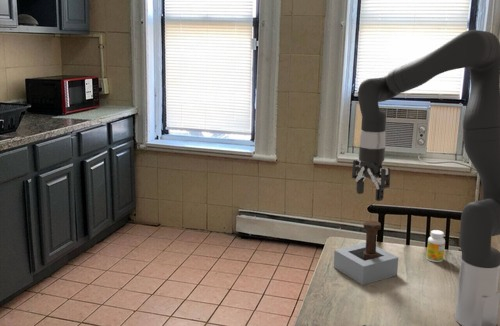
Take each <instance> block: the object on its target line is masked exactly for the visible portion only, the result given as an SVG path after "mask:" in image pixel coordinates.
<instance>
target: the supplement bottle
mask: <svg viewBox="0 0 500 326" xmlns="http://www.w3.org/2000/svg"><path fill="white" fill-rule="evenodd" d="M444 235H445V234H444V231H442V230H438V229H433V230H431V231H430V236H429V237H428V238H427V247H426V259H427V260H428V261H430V262H433V263H442V262H443V261H444V256H445V248H446V247H445V246H446V240H445V238H444Z"/></svg>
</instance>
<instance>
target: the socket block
mask: <svg viewBox="0 0 500 326" xmlns="http://www.w3.org/2000/svg"><path fill="white" fill-rule="evenodd" d="M365 250H366V242H363V243H359V244H355V245H350V246H345V247H341V248H338V249H335V250H333V251H334V255H333V269H336V270H337V271H339V272H340V273H342V274H344V275H346V276H347V277H348V278H350V279H352V280H354V281H355V282H357V283H359V285H363V286H365V285H368V284H371V283H374V282H377V281H381V280H385V279H388V278H392V277H395V276H397V275H398V268H399V257H398V256H396V255H394V254H392V253H391V252H388V251H387V250H384V249H382V248H381V247H379V246H377V245H376V252H378V258H374V259H370V260H366V261H365V259H364V258H363V251H365Z"/></svg>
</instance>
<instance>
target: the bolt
mask: <svg viewBox="0 0 500 326" xmlns="http://www.w3.org/2000/svg"><path fill="white" fill-rule="evenodd" d="M362 225H363V229H365V233H366V236H365V243H366V250H365V251H363V258H364V259H365V261H366V260H370V259H374V258H378V252H376V246H377V238H378V237H377V236H378V231H380V230H382V229H381V227H382V224H381V222H379V221H377V220H365V221H363V223H362Z"/></svg>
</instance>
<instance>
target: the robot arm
mask: <svg viewBox="0 0 500 326" xmlns="http://www.w3.org/2000/svg"><path fill="white" fill-rule="evenodd" d="M463 68H464V69H465V68H466V69H469V77H470V94H469V98H468V102H467V104H466V108H465V110H464V115H463V120H462V121H463V122H462V133H463V134H462V135H463V145H464V147H463V148H464V151H465V153H466V155H467V157H468V159H469V160H470V163H471V164H472V166H473V167H474V169H475V170H476V172H477V174H478V176H479V180H480V183H481V188H482V199H481V200H477V201H476V200H475V201H472V202H468V203H467V204H466V205H465V206H464V207H463V209H462V212H461V217H460V229H459V230H460V231H459V247H460V251H461V259H460V267H459V277H458V285H457V287H458V288H457V295H456V304H455V313H454V319H455V321H456V322H457V323H458V324H459V325H461V326H497V322H498V313H499V308H500V292H499V291H498V287H499V286H498V285H499V278H500V277H499V276H500V251H499V250H498V249H497V248H495V247H493V246H492V237H496V236H499V235H500V40H499V38H498V37H497V36H496V35H495V34H493V33H492V32H490V31H486V30H485V31H484V30H477V29H470V30H469V29H468V30H466V31H463V32H461V33H459V34H458V35H457V36H455V37H453V38H452V39H450V40H448V41H446V42H445V43H444V44H442V45H441V46H440V47H438V48H436V49H434V50H433V51H431V52H429V53H427V54H425V55H423V56H421V57H419V58H416V59H415V60H412V61H410V62H408V63H404V64H402V65H401V66H399V67H396V68H394V69H392V70H391V71H389V72H388V74H387V75H385V76H381V77H374V78H372V77H371V78H366V79H364V80H363V81H362V82H360V84H359V86H358V91H357V98H358V104H359V109H360V114H361V126H360V127H361V128H360V136H359V146H358V147H359V149H358V150H359V152H358V159H355V160H353V162H352V171H351V173H352V174H351V179H353V180H355V182H356V189H355V190H356V194H358V195H362V194H364V191H365V190H364V189H365V179H366V178H368V179H370V180H371V181H372V183H374V185H375V187H376V188H375V201H376V202H379V201H383V200H384V192H385V189H389V188H390V187H391V168H390V167H385V168H384V167H383V162H384V161H385V151H386V141H387V140H386V124H387V123H386V122H387V115H386V113H385V112H384V111H383V110H380V106H379V102H380V103H382V102H386V101H388V100H389V101H390V100H391V99H392V98H395V97H396V96H398V95H400V94H401V93H405V92H408V91H411V90H413V89H416V88H418V87H420V86H423V85H424V84H425V83H427V82H429V81H430V80H432V79H433V78H435V77H436V76H438V75H441V74H443V73H446V72H450V71H453V70H457V69H458V70H459V69H463Z"/></svg>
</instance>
